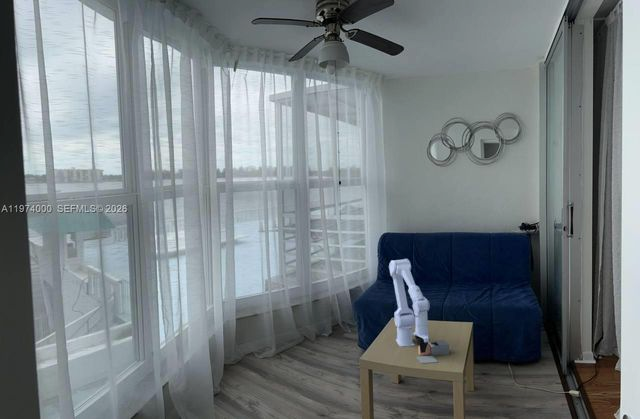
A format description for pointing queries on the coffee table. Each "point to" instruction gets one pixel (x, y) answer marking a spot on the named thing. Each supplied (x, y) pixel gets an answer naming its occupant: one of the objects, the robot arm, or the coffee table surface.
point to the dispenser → (439, 348)
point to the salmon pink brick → (425, 351)
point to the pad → (427, 359)
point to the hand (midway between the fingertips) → (422, 351)
